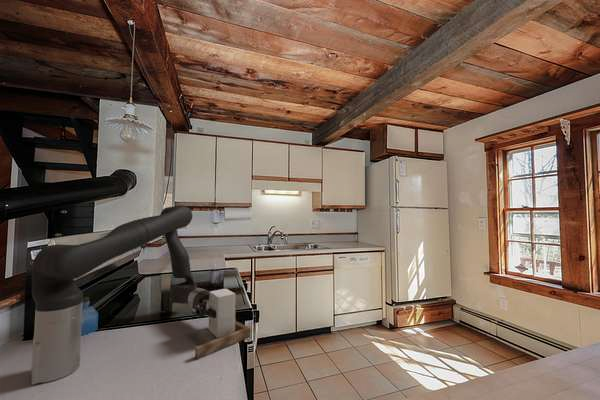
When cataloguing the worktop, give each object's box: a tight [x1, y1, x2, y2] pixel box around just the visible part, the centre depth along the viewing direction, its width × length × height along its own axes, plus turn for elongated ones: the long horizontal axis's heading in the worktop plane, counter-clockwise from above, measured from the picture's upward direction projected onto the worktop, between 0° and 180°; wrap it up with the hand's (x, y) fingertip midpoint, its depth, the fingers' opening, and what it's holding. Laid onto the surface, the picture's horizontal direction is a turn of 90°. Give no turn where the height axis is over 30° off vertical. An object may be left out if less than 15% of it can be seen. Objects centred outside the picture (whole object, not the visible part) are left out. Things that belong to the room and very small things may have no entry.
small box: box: [207, 288, 237, 338], centre depth 88 cm, size 8×6×13 cm
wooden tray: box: [186, 320, 252, 360], centre depth 86 cm, size 18×16×3 cm
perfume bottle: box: [81, 296, 99, 337], centre depth 90 cm, size 6×6×12 cm
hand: (225, 311), depth 86 cm, fingers closed on small box, 6 cm apart
